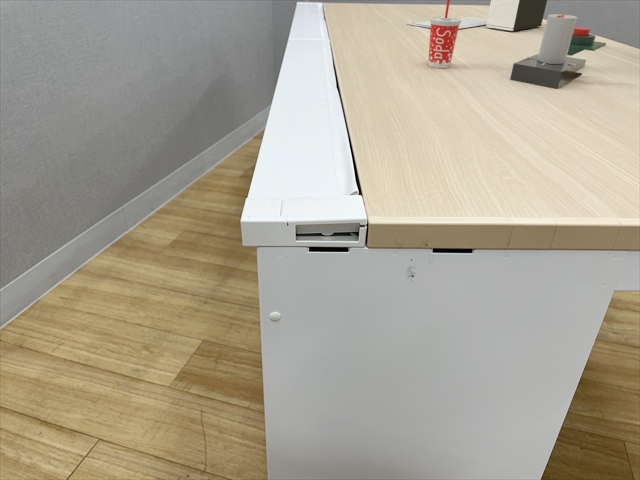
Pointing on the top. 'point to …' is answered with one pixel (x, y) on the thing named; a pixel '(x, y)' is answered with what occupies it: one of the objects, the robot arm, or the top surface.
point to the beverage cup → (442, 40)
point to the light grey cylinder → (556, 38)
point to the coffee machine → (506, 15)
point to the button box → (583, 44)
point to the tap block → (546, 71)
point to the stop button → (581, 31)
